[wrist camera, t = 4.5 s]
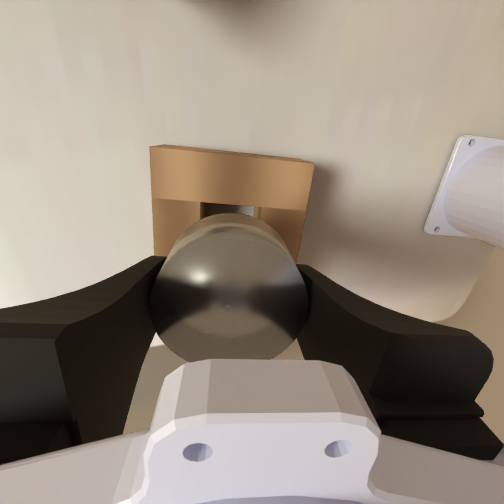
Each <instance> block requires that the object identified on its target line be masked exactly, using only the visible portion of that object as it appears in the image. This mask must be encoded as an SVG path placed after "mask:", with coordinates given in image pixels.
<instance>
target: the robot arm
mask: <svg viewBox="0 0 504 504" xmlns="http://www.w3.org/2000/svg"><path fill="white" fill-rule="evenodd" d="M470 140H471V143H470V145H468V144H469V141H470ZM436 227H437V229H436V230H435V231H434V229H435V228H436ZM423 230H424V232H425V233H427V234H432V235H445V236H458V237H471V238H477V239H479V240H482V241H484V242H487V243H489V244H492V245H494V246H497V247H499V248H502V249H504V139H496V138H489V137H481V136H473V135H462V136H460V137H459V138H458V139H457V141H456V144H455V146H454V149H453V152H452V154H451V157H450V160H449V162H448V165H447V168H446V170H445V173H444V176H443V178H442V181H441V183H440V186H439V189H438V191H437V194H436V197H435V199H434V202H433V205H432V207H431V210H430V213H429V215H428V218H427V220H426V223H425V226H424V229H423ZM166 259H167V256H150V257H148V258H146V259H144V260H142V261H140V262H139V263H137V264H135V265H133V266H131V267H129V268H128V269H126V270H124V271H122V272H120V273H118V274H116V275H114V276H111V277H109V278H107V279H105V280H103V281H101V282H98V283H96V284H93V285H91V286H88V287H85V288H83V289H80V290H77V291H74V292H70V293H67V294H63V295H60V296H57V297H53V298H50V299H46V300H41V301H37V302H33V303H28V304H23V305H18V306H13V307H8V308H2V309H0V504H504V443H502V442H501V441H500V440H499V439H498V438H497V436H496V435H495V434H494V433H493V432H492V431H491V430H490V429H489V428H488V426H487V425H486V424H485V423H484V422H483V421H482V420H481V419H480V417H483V415H484V411H483V409H482V408H481V407H480V406H479V405H478V404H477V403H476V402H475V401H474V400H475V399H476V397H477V395H478V394H479V392H480V391H481V389H482V388H483V386H484V384H485V383H486V381H487V380H488V378H489V376H490V373H491V372H492V368H493V360H494V359H493V355H492V352H491V350H490V349H489V348H488V347H487V346H486V345H485V344H484V343H482V342H481V341H480V340H479V339H478V338H477V337H475V336H474V335H473V334H472V333H470V332H468V331H465V330H461V329H457V328H453V327H448V326H444V325H440V324H435V323H431V322H428V321H424V320H421V319H417V318H414V317H411V316H407V315H404V314H401V313H398V312H396V311H393V310H390V309H388V308H385V307H383V306H380V305H378V304H375V303H373V302H371V301H369V300H367V299H364V298H362V297H360V296H358V295H356V294H354V293H353V292H351V291H349V290H347V289H345V288H344V287H342V286H340V285H339V284H337V283H335V282H334V281H332V280H331V279H329V278H327V277H326V276H324V275H323V274H321V273H320V272H318V271H317V270H315V269H313V268H312V267H310V266H308V265H301V264H296V266H297V268H298V270H299V272H300V274H301V276H302V279H303V281H304V283H305V286H306V290H307V294H308V312H307V316H306V320H305V323H304V325H303V328H302V329H301V331H300V333H299V335H298V336H297V337H296V338H297V340H298V343H299V346H300V348H301V351H302V354H303V357H304V359H305V360H261V359H207V360H201V361H196V362H190V363H185V364H183V365H182V366H181V367H179V368H178V369H176V370H175V371H174V372H172V373H171V374H169V375H168V376H167V377H165V380H164V383H163V386H162V388H161V391H160V394H159V398H158V402H157V405H156V409H155V413H154V417H153V421H152V424H151V428H147V429H143V430H139V431H135V432H131V433H127V434H123V430H124V427H125V422H126V419H127V415H128V412H129V408H130V405H131V401H132V397H133V394H134V390H135V387H136V383H137V380H138V377H139V373H140V370H141V367H142V364H143V361H144V359H145V356H146V354H147V351H148V349H149V347H150V344H151V342H152V340H153V337H154V335H155V333H156V331H155V329H154V326H153V324H152V321H151V316H150V309H149V301H150V294H151V290H152V287H153V284H154V282H155V280H156V278H157V276H158V274H159V272H160V270H161V268H162V266H163V264H164V263H165V261H166ZM122 434H123V435H122Z"/></svg>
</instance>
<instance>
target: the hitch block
mask: <svg viewBox="0 0 504 504" xmlns="http://www.w3.org/2000/svg"><path fill="white" fill-rule="evenodd" d="M314 166H315V164H313V163H310V162H307V161H304V160H301V159H295V158H286V157H276V156H267V155H257V154H248V153H239V152H229V151H220V150H211V149H201V148H192V147H182V146H173V145H158V146H150V169H151V191H152V213H153V235H154V256H167V257H168V255H169V253H170V251H171V249H172V247H173V246H174V244H175V242H176V241H177V239H178V238H179V236H180V235H181V234H182V233H183V232H184V231H185V230H186V229H187V228H188V227H189V226H191V225H192V224H194V223H195V222H197V221H199V220H201V219H203V218H204V214H205V202H208V203H220V204H232V205H244V206H255V210H254V218H257V219H259V220H261V221H263V222H265V223H266V224H267V225H269V226H270V227H272V228H273V229H274V230H275V231H276V232H277V233H278V234H279V236H280V237H281V238H282V240H283V241H284V243H285V245H286V247H287V249H288V251H289V253H290V255H291V257H292V259H293V261H294V262H295V264H296V262H297V256H298V251H299V246H300V240H301V235H302V230H303V225H304V219H305V214H306V209H307V203H308V198H309V193H310V187H311V182H312V177H313V172H314Z"/></svg>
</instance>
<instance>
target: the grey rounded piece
mask: <svg viewBox="0 0 504 504" xmlns="http://www.w3.org/2000/svg"><path fill="white" fill-rule="evenodd" d="M149 309H150V316H151V321H152V324H153V326H154V329H155V331H156V332H157V334H158V336H159V338H160V339H161V340H162V341H163V343H164V344H165V345H166V346H167V347H168V348H169V349H170V350H171V351H173V352H174V353H175V354H176V355H178V356H179V357H181V358H183V359H185V360H186V361H189V362H196V361H201V360H207V359H261V360H271V359H273V358H274V357H276V356H277V355H279V354H280V353H282V352H283V351H284V350H285V349H287V348H288V347H289V346H290V345H291V344H292V342H293V341H294V340H295V339H296V337H297V336H298V335H299V333H300V331H301V329H302V328H303V325H304V323H305V320H306V316H307V312H308V294H307V290H306V286H305V283H304V281H303V279H302V276H301V274H300V272H299V270H298V268H297V266H296V264H295V262H294V261H293V259H292V257H291V255H290V253H289V251H288V249H287V247H286V245H285V243H284V241H283V240H282V238H281V237H280V236H279V234H278V233H277V232H276V231H275V230H274V229H273V228H272V227H270V226H269V225H267V224H266V223H265V222H263V221H261V220H259V219H257V218H254V217H251V216H249V215H244V214H238V213H222V214H216V215H212V216H208V217H205V218H203V219H201V220H199V221H197V222H195V223H194V224H192V225H191V226H189V227H188V228H187V229H186V230H185V231H184V232H183V233H182V234H181V235H180V236H179V238H178V239H177V241H176V242H175V244H174V246H173V247H172V249H171V251H170V253H169V255H168V257H167V259H166V261H165V263H164V264H163V266H162V268H161V270H160V272H159V274H158V276H157V278H156V280H155V282H154V284H153V287H152V290H151V294H150V301H149Z"/></svg>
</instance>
